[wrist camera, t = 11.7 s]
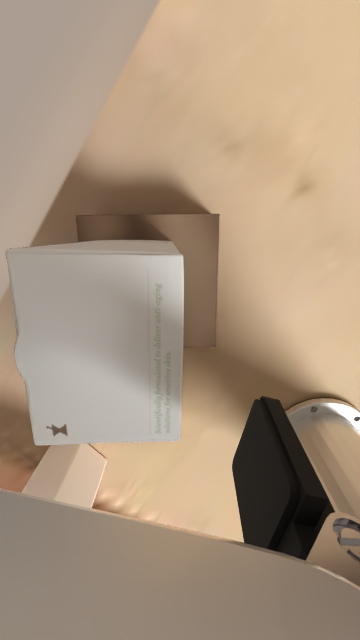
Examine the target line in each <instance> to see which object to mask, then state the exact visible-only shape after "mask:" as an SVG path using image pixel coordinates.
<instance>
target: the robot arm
mask: <svg viewBox="0 0 360 640" xmlns="http://www.w3.org/2000/svg"><path fill="white" fill-rule="evenodd" d="M232 470H233V477H234V483H235V489H236V495H237V501H238V507H239V513H240V519H241V525H242V531H243V537H244V543H242V542H238V541H234V540H229V539H225V538H220V537H216V536H212V535H208V534H204V533H199V532H195V531H191V530H186V529H182V528H177V527H173V526H168V525H164V524H159V523H155V522H150V521H146V520H141V519H137V518H132V517H128V516H123V515H119V514H115V513H110V512H106V511H101V510H96V509H92V508H87V507H83V506H78V505H74V504H69V503H64V502H60V501H55V500H51V499H46V498H41V497H37V496H32V495H27V494H23V493H18V492H14V491H9V490H4V489H0V640H360V412H359V411H358V410H357V409H356V408H355V407H353V406H352V405H350V404H348V403H346V402H344V401H341V400H337V399H332V398H318V399H311V400H308V401H304V402H301V403H299V404H297V405H295V406H293V407H291V408H290V409H288V410H287V411H284V409H283V407H282V405H281V403H280V401H279V400H277V399H272V398H268V397H264V396H262V397H261V398H260V400H258V399H256V400H255V401H254V403H253V406H252V408H251V411H250V414H249V417H248V420H247V422H246V425H245V428H244V431H243V434H242V436H241V439H240V442H239V445H238V447H237V450H236V453H235V456H234V459H233V464H232Z"/></svg>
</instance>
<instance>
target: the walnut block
mask: <svg viewBox="0 0 360 640" xmlns="http://www.w3.org/2000/svg"><path fill="white" fill-rule="evenodd" d="M76 222H77V231H78V239H79V242H87V241H97V240H157V241H172V242H173V243H174V245H175V246H176V248H177V250H178V251H179V253H180V254H182V255H183V264H184V328H183V331H184V334H183V347H215V339H216V307H217V275H218V243H219V214H167V215H76Z"/></svg>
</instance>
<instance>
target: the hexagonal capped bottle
mask: <svg viewBox="0 0 360 640" xmlns="http://www.w3.org/2000/svg"><path fill="white" fill-rule="evenodd" d="M106 463H107V459H105V458H104V457H103V456H102V455H101V454H100V453H98V452H97V451H96V450H95V449H94V448H92V447H91V446H90V445H89V444H62V445H50V447H49V448H48V450H47V451H46V453H45V455H44V456H43V458H42V460H41V461H40V463H39V464H38V466H37V468H36V469H35V471H34V473H33V474H32V476H31V477H30V479H29V481H28V482H27V484H26V486H25V487H24V489H23V490H22V492H21V493H23V494H27V495H32V496H37V497H41V498H46V499H51V500H55V501H60V502H64V503H69V504H74V505H78V506H83V507H87V508H92V507H93V504H94V501H95V498H96V495H97V492H98V489H99V486H100V483H101V479H102V476H103V473H104V470H105V466H106Z"/></svg>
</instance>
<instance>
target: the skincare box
mask: <svg viewBox="0 0 360 640" xmlns="http://www.w3.org/2000/svg"><path fill="white" fill-rule="evenodd" d="M5 254H6V259H7V263H8V270H9V277H10V286H11V293H12V301H13V309H14V316H15V323H16V331H17V340H16V343H15V349H14V356H15V362H16V366H17V369H18V371H19V372H20V374H21V376H22V377H23V379H24V381H25V388H26V395H27V401H28V407H29V413H30V420H31V426H32V432H33V439H34V444H35V445H38V446H40V445H62V444H89V443H123V442H164V441H179V440H180V436H181V410H182V377H183V334H184V331H183V328H184V264H183V255H182V254H180V253H179V251H178V250H177V248H176V246H175V245H174V243H173V242H172V241H157V240H97V241H87V242H77V243H66V244H57V245H45V246H35V247H24V248H10V249H7V250H6V251H5Z"/></svg>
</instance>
